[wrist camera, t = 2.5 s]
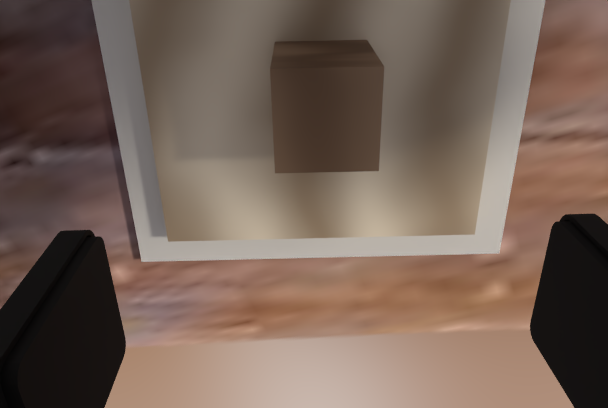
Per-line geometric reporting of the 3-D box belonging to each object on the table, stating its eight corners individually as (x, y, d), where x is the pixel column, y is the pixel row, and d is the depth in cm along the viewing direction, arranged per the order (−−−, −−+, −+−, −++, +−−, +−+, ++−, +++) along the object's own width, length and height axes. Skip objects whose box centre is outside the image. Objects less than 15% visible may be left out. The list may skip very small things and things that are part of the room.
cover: (518, -124, 21) (596, -142, 16) (468, 223, 29) (508, 293, 23) (119, -115, 21) (57, -131, 16) (172, 229, 29) (143, 301, 23)
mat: (571, -183, 21) (579, -186, 20) (495, 247, 30) (499, 253, 30) (63, -173, 21) (57, -176, 20) (144, 255, 30) (141, 261, 29)
